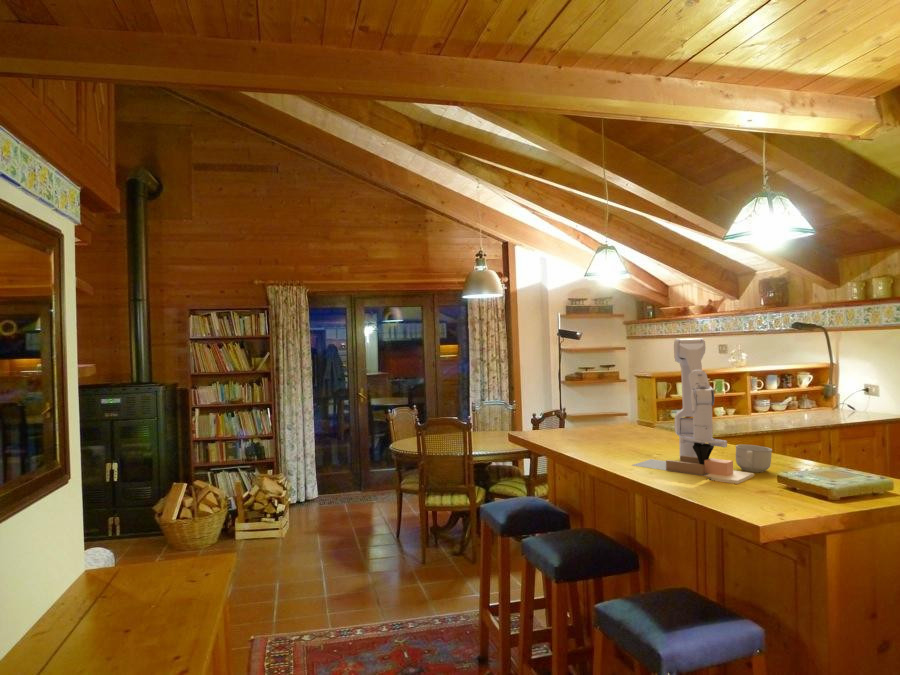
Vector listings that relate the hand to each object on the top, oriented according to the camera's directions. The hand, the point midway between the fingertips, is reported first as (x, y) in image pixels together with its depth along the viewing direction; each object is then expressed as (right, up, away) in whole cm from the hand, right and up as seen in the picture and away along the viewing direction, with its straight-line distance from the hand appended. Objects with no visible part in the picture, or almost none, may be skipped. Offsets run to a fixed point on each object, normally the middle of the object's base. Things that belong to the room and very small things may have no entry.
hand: (703, 467), depth 200 cm
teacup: (+17, -2, +3) cm, 18 cm away
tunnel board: (-3, -2, +3) cm, 4 cm away
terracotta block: (+3, -1, -4) cm, 5 cm away
